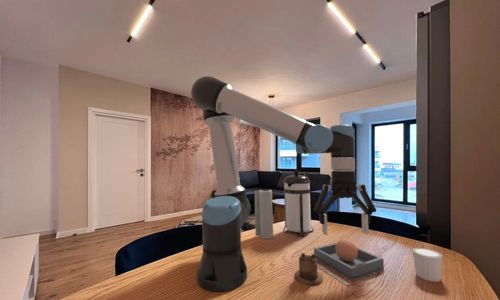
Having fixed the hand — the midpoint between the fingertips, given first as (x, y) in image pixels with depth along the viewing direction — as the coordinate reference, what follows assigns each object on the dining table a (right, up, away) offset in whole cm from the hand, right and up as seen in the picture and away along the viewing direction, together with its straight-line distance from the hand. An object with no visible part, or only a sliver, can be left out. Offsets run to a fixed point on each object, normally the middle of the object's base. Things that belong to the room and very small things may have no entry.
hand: (345, 233), depth 72 cm
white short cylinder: (+21, -9, -9) cm, 24 cm away
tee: (-15, -10, -8) cm, 20 cm away
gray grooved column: (-25, -12, +26) cm, 38 cm away
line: (-9, -10, -4) cm, 14 cm away
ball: (0, -8, +2) cm, 8 cm away
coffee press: (-8, -12, +33) cm, 36 cm away
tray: (0, -10, 0) cm, 10 cm away
